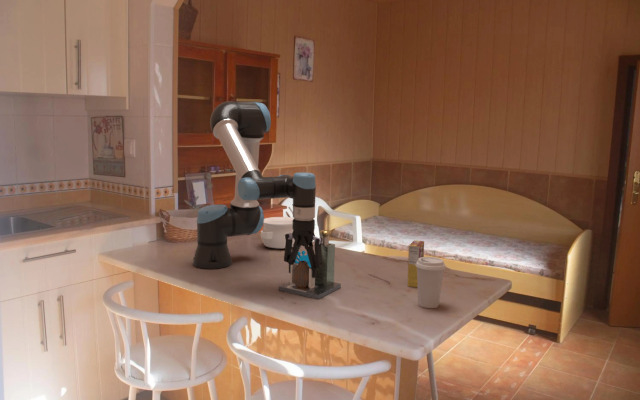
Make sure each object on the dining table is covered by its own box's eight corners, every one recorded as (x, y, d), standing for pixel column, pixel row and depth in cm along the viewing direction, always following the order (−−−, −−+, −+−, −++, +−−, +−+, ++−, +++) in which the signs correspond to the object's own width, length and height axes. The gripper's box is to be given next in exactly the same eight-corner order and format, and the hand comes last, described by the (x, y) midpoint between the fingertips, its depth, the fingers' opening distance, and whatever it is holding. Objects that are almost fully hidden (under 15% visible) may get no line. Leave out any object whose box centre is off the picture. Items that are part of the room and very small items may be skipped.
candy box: (411, 279, 206) (413, 239, 203) (423, 281, 204) (425, 241, 202) (406, 286, 198) (408, 244, 195) (418, 287, 196) (420, 246, 194)
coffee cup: (410, 299, 183) (412, 256, 181) (438, 299, 184) (440, 256, 181) (417, 310, 174) (420, 263, 171) (447, 309, 174) (450, 264, 172)
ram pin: (317, 261, 192) (318, 231, 190) (322, 259, 195) (323, 229, 193) (326, 263, 190) (327, 232, 188) (332, 260, 193) (333, 230, 192)
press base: (278, 290, 189) (279, 246, 187) (302, 279, 202) (303, 238, 200) (318, 299, 181) (319, 253, 179) (340, 287, 194) (341, 244, 192)
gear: (298, 271, 207) (292, 249, 212) (291, 279, 211) (286, 257, 216) (323, 272, 212) (318, 250, 218) (317, 280, 216) (311, 258, 222)
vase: (305, 290, 184) (305, 265, 183) (288, 286, 188) (288, 261, 187) (316, 285, 190) (316, 260, 189) (299, 281, 194) (300, 257, 192)
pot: (278, 254, 238) (278, 226, 236) (249, 247, 248) (249, 221, 246) (310, 245, 255) (310, 219, 253) (282, 239, 266) (282, 215, 264)
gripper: (273, 216, 187) (272, 282, 191) (323, 223, 177) (321, 292, 181) (285, 213, 194) (285, 276, 197) (334, 220, 184) (332, 286, 187)
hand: (302, 284), depth 189 cm, fingers closed on vase, 7 cm apart
